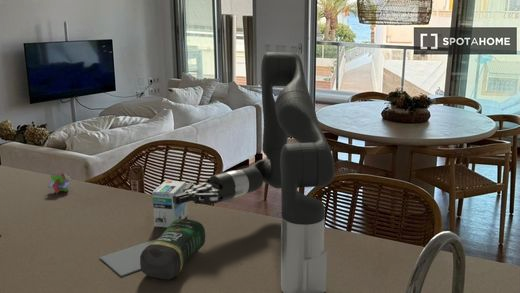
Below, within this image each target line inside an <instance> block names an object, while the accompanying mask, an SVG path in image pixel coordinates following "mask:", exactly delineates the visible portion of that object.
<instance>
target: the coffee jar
mask: <svg viewBox="0 0 520 293" xmlns="http://www.w3.org/2000/svg"><path fill="white" fill-rule="evenodd" d="M157 239H158V238H157ZM205 242H206V230H205V227H204V226H203V224H202V223H201V222H199V221H197V220H193V219H186V218H184V219H177V220H174V221H173V222H172V223H171V224H170V225H169V227H166V230H164V232H162V234H161V235H160V237H159V239H158V240H156V241H155V242H153V243H151V244H149V245H148V246H147V247H146V248H145V249H144V250H143V252H142V253H141V256H140V266H141V270H140V272H142V273H143V274H144V275H146V276H148V277H151V278H153V279H159V280H172V279H173V278H175V277H176V276H177V275H179V273H180V272H181V271H182V269H183V265H184V264H185V263H186V262H187V261H188V260H189V259H190V258H191V257H192V256H193V255H194V254H196V253H197V252H198V251H199V250H200V249H201V248H202V247H203V246H205Z"/></svg>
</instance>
